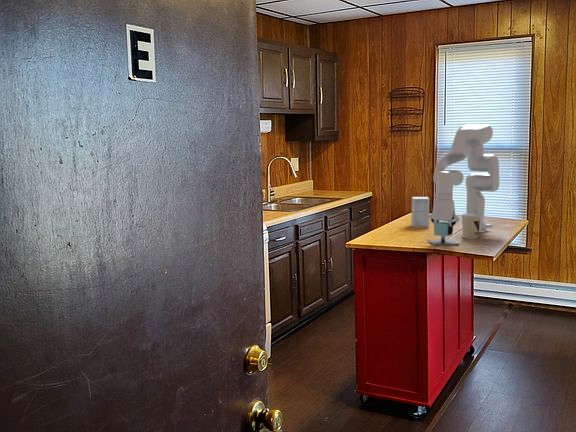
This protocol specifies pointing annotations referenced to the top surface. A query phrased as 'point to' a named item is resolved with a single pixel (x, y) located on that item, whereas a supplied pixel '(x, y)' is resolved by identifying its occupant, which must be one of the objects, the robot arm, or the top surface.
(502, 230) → the top surface
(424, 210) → the supplement box
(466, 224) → the coffee cup
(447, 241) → the shaft stand
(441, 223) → the collar
